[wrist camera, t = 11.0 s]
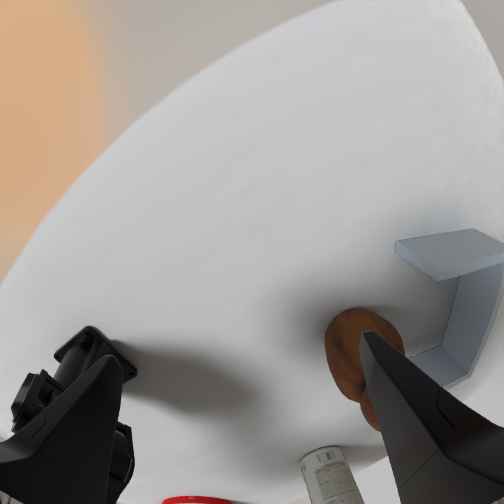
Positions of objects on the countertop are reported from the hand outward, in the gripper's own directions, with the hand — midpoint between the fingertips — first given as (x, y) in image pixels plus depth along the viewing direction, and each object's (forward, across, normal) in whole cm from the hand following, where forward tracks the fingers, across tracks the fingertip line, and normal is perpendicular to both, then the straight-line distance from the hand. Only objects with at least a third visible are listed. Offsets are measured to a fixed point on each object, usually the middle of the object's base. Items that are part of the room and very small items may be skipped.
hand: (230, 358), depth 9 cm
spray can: (+10, -5, +37) cm, 38 cm away
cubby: (+14, -17, +13) cm, 25 cm away
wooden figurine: (+13, -8, +12) cm, 19 cm away
